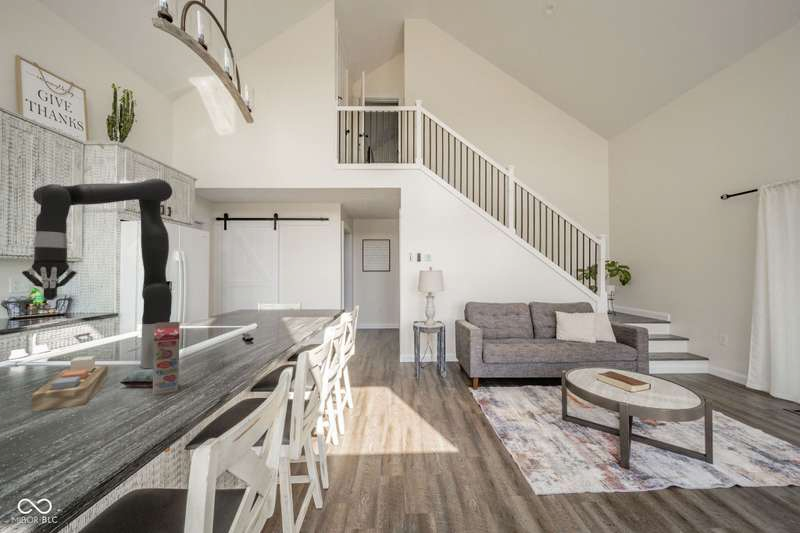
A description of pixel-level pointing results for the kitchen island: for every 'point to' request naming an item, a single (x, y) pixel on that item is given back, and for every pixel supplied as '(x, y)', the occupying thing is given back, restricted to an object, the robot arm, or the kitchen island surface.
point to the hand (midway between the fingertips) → (50, 299)
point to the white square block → (83, 363)
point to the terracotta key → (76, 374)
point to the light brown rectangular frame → (69, 391)
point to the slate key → (66, 383)
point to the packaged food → (139, 379)
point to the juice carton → (166, 357)
